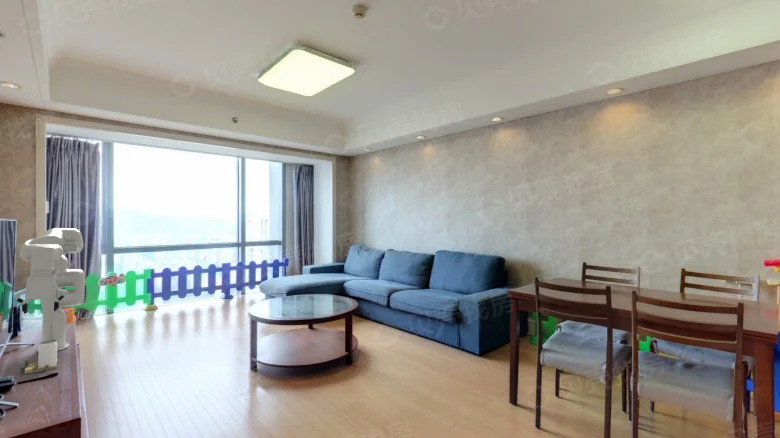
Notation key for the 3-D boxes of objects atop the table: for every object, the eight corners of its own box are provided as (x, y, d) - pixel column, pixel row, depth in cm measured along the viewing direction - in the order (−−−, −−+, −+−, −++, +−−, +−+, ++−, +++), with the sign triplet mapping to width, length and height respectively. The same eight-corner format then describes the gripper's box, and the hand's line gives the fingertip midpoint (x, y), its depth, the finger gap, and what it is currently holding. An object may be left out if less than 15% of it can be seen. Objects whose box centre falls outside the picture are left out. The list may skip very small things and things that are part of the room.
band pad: (26, 368, 171) (26, 367, 171) (36, 366, 173) (36, 365, 173) (23, 372, 166) (23, 372, 166) (33, 371, 168) (33, 370, 168)
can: (45, 370, 169) (46, 344, 169) (34, 368, 171) (35, 343, 171) (60, 365, 176) (61, 340, 176) (49, 363, 177) (50, 338, 177)
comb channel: (25, 367, 172) (25, 360, 172) (59, 362, 179) (59, 356, 179) (20, 374, 164) (20, 367, 164) (56, 368, 171) (56, 362, 171)
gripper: (69, 271, 170) (67, 308, 170) (17, 273, 160) (15, 312, 160) (67, 273, 164) (65, 311, 164) (12, 275, 154) (11, 316, 154)
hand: (40, 311), depth 162 cm, fingers open, 9 cm apart
